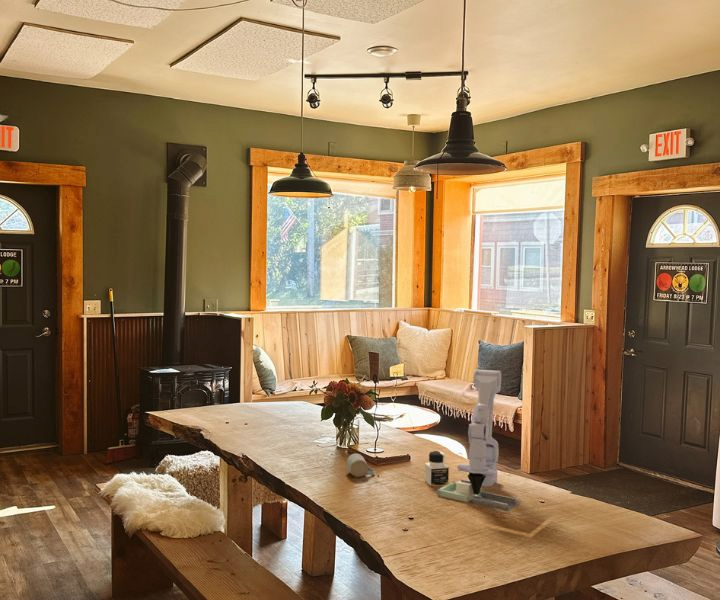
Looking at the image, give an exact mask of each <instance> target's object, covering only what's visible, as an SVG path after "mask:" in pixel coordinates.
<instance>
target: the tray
mask: <svg viewBox="0 0 720 600" xmlns="http://www.w3.org/2000/svg"><path fill="white" fill-rule="evenodd" d="M456 482H457V481H451V482H448V484H447V485H443V486H441V487H440V488H438V489H437V491H436V497H442V498H447V499H451V500H456V501H460V502H463V503H464V502H465V503H468V501H470V500H472V497H471V498H470V499H469V496H468V495H464V494H459V493H456ZM482 491H483V487H481V489H480V493H479V494H478V495H480V494H481V492H482ZM478 495H475V496H473V497H477V496H478Z"/></svg>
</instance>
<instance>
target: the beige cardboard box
mask: <svg viewBox="0 0 720 600" xmlns="http://www.w3.org/2000/svg"><path fill="white" fill-rule="evenodd" d="M455 482H456V493H459V494H464V495H468V496H469V499H470V498H471V497H473V496H475V494H474V493H473V488H472V485H471V482H470V480H469V479H464V478H463V479H460V480H459V481H455Z"/></svg>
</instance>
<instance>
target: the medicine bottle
mask: <svg viewBox="0 0 720 600" xmlns="http://www.w3.org/2000/svg"><path fill="white" fill-rule="evenodd" d="M428 454H429V455H428V462H425V463H424V482H425V483H427V484H428V485H429V486H430V487H440V485H443V486H445V485H447V484H449V474H450V473H449V470H450V467H449V466H448V465H446V454H445V452H443V451H440V450H434V451H433V450H432V451H430V452H429V453H428Z"/></svg>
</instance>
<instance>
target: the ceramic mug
mask: <svg viewBox="0 0 720 600" xmlns="http://www.w3.org/2000/svg"><path fill="white" fill-rule="evenodd" d="M345 465H346V469H347V470H348V471H349V473H350V474H351V476H353V477H355V478H362V477H364V476H366V474H367V475H369V476H373V475H374V474H375V470H374V469H373V468H372V467H370V466H368V463H367V461H366V459H365V458H364V456H362V454H360V453H352V454H350V455H349V456H348V457H347V459H346V462H345Z"/></svg>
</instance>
